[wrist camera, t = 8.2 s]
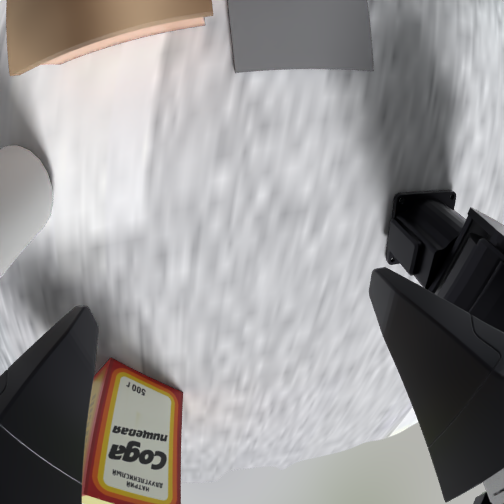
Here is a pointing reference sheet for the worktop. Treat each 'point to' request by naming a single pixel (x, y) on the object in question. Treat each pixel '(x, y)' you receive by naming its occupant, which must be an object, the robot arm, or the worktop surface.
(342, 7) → the mat
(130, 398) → the baking soda box
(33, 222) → the can
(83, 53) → the dish
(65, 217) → the worktop surface
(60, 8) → the lid
